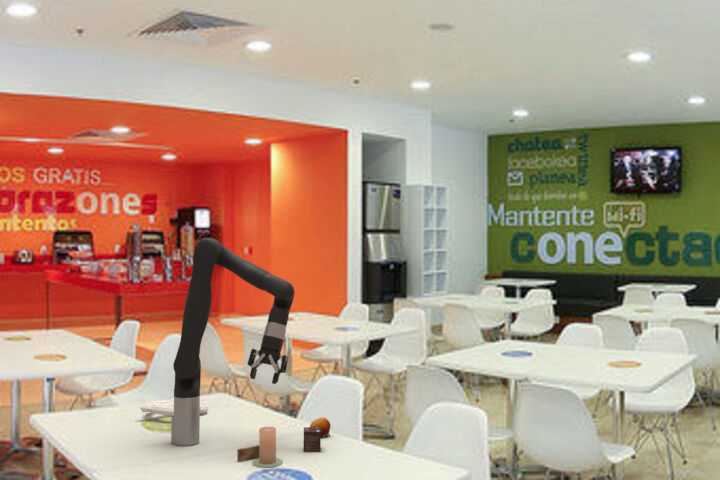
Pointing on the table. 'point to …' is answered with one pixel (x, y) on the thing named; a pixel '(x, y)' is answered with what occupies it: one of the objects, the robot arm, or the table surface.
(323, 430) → the fruit
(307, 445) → the box
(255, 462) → the coaster
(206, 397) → the table surface
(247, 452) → the rail
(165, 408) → the pretzel
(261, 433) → the peach dome-topped cylinder
